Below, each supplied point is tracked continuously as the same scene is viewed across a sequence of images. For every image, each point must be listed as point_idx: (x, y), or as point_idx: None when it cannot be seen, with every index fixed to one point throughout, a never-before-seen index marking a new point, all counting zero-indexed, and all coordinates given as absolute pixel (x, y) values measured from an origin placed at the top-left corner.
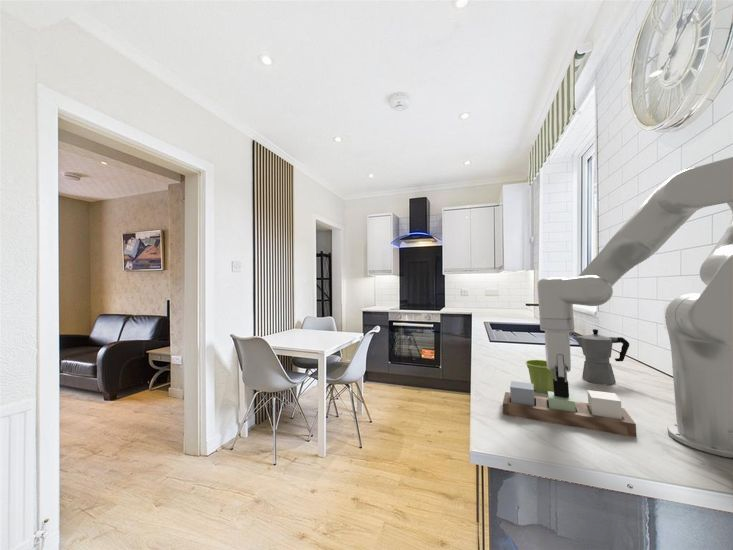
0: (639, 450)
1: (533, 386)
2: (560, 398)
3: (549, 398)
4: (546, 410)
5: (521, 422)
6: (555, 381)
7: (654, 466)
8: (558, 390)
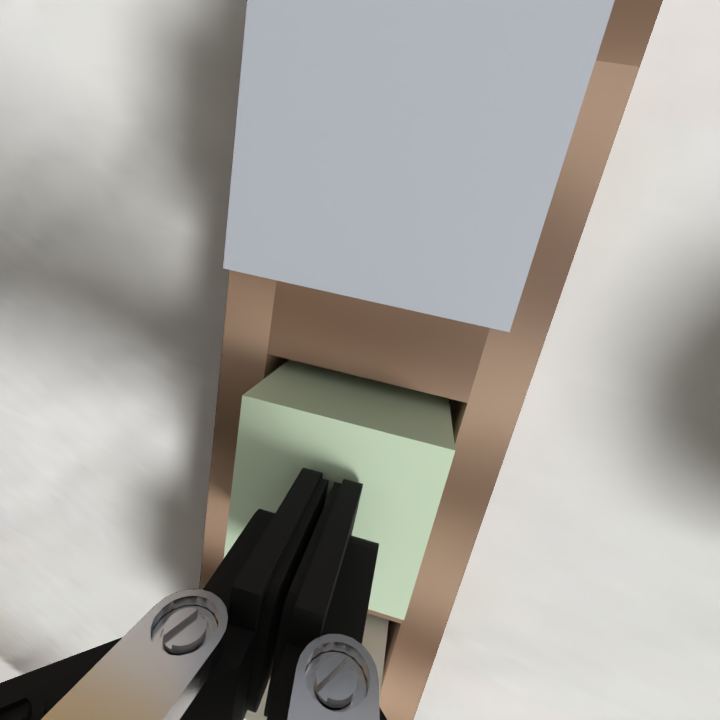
0: (118, 586)
1: (400, 306)
2: (264, 489)
3: (243, 400)
4: (223, 333)
5: (209, 148)
6: (237, 596)
7: (26, 566)
8: (245, 529)
